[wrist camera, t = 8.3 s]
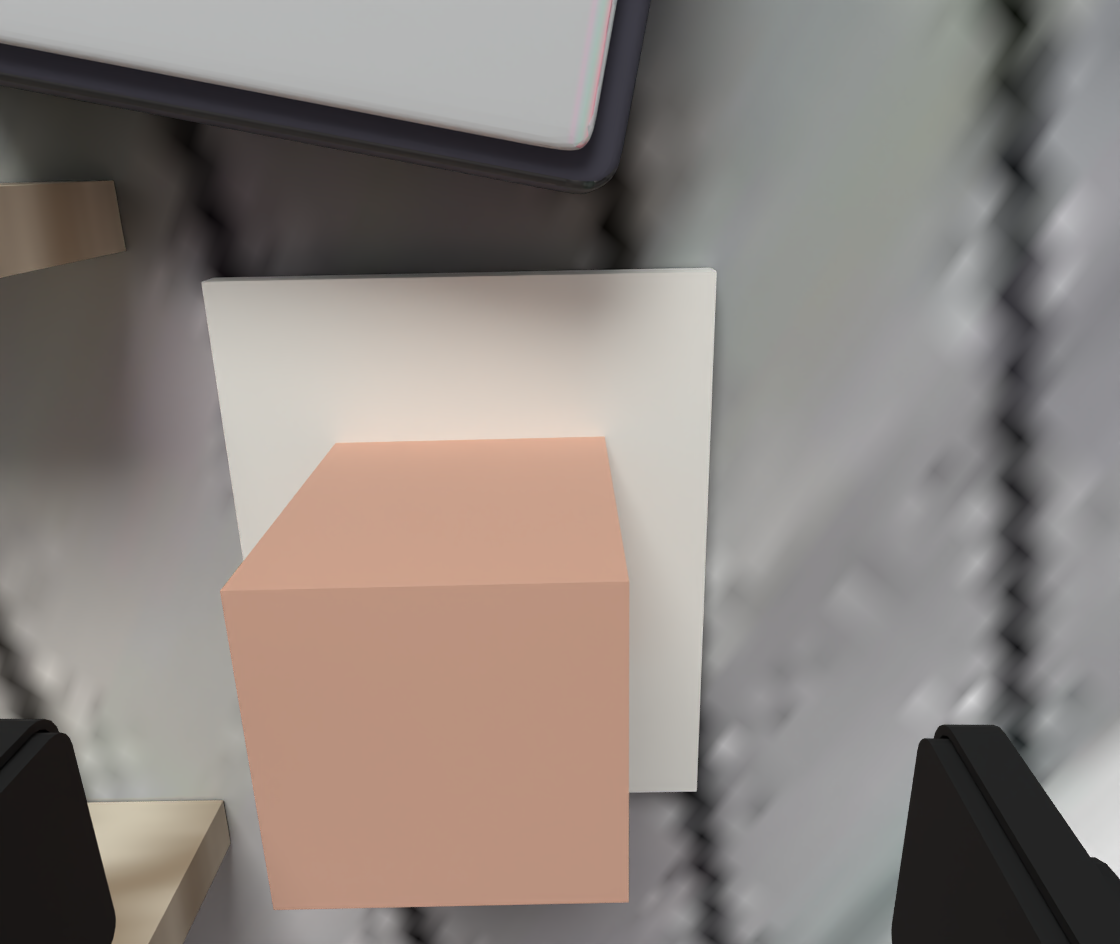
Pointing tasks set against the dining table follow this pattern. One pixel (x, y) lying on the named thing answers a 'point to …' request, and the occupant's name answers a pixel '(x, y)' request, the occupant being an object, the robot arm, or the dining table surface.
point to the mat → (500, 420)
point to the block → (440, 677)
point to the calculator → (358, 74)
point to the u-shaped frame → (120, 827)
